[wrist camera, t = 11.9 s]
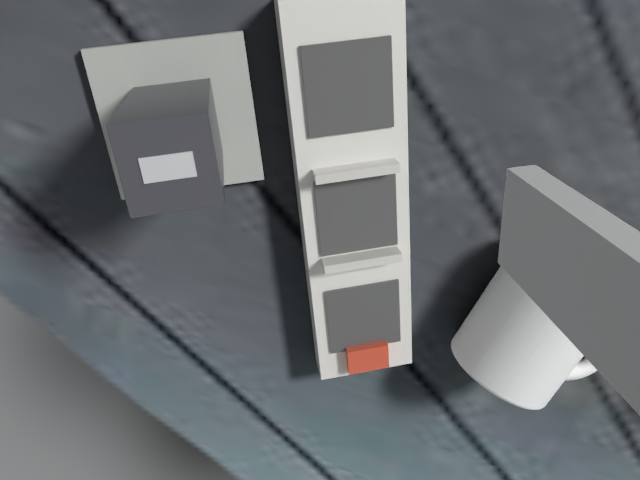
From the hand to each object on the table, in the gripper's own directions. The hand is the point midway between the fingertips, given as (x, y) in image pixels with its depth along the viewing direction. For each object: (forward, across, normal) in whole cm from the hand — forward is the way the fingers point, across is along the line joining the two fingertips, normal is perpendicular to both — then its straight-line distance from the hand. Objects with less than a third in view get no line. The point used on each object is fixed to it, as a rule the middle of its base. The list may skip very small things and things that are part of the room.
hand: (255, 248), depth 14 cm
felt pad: (+22, -4, -2) cm, 22 cm away
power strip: (+22, +7, -4) cm, 23 cm away
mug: (+22, +21, -19) cm, 36 cm away
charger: (+21, -4, -2) cm, 22 cm away
